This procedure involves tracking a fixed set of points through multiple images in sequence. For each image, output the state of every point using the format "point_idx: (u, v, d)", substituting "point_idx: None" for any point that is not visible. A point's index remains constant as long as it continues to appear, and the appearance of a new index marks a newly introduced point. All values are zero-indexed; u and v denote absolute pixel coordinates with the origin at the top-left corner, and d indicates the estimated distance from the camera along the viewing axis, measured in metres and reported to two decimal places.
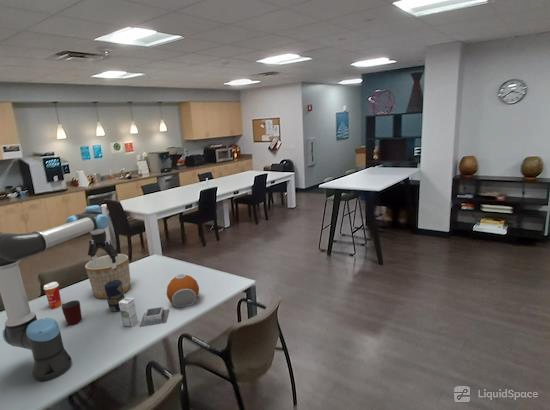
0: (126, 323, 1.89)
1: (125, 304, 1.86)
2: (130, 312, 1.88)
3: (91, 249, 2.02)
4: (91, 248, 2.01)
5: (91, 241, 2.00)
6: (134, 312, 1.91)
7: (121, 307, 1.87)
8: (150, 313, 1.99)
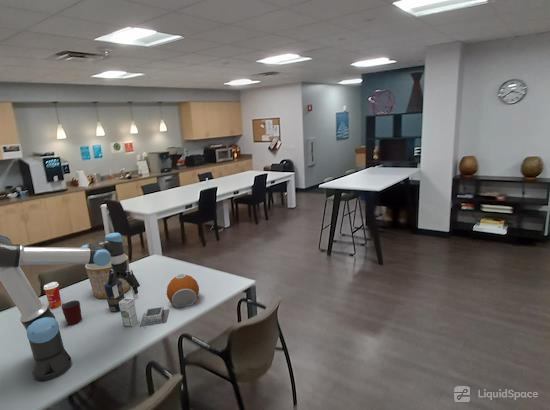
0: (126, 323, 1.89)
1: (125, 304, 1.86)
2: (130, 312, 1.88)
3: (111, 279, 1.89)
4: (111, 278, 1.88)
5: (111, 270, 1.86)
6: (134, 312, 1.91)
7: (121, 307, 1.87)
8: (150, 313, 1.99)
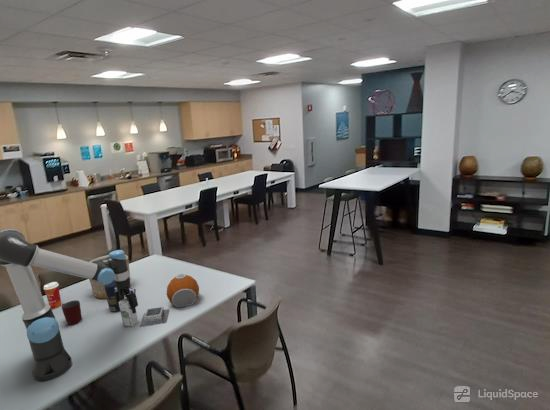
0: (126, 323, 1.89)
1: (125, 304, 1.86)
2: (130, 312, 1.88)
3: (118, 298, 1.90)
4: (117, 296, 1.90)
5: (115, 289, 1.89)
6: None
7: (121, 307, 1.87)
8: (150, 313, 1.99)
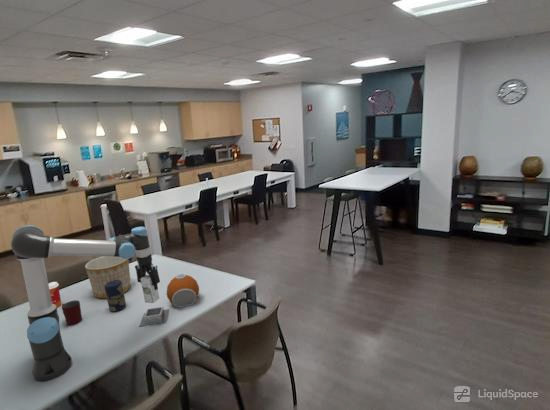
0: (148, 299, 1.91)
1: (148, 280, 1.87)
2: None
3: (139, 275, 1.91)
4: (139, 273, 1.91)
5: (136, 266, 1.90)
6: None
7: (143, 283, 1.89)
8: (150, 313, 1.99)
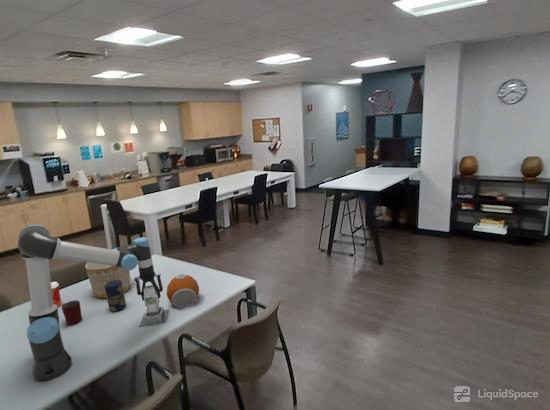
0: (152, 309, 1.92)
1: (153, 289, 1.89)
2: None
3: (139, 287, 1.90)
4: (139, 286, 1.90)
5: (136, 278, 1.89)
6: None
7: (147, 294, 1.89)
8: (150, 313, 1.99)
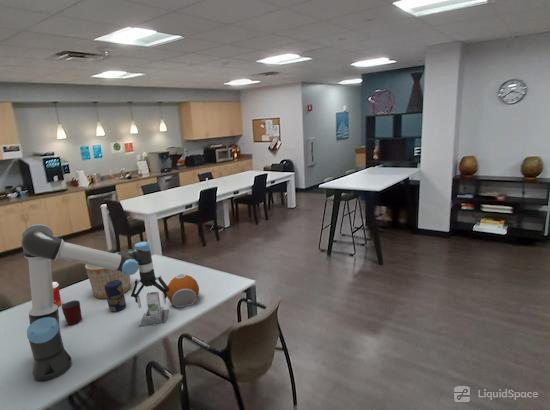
0: None
1: (155, 296, 1.90)
2: (158, 304, 1.93)
3: (135, 289, 1.90)
4: (135, 288, 1.90)
5: (137, 281, 1.89)
6: (159, 304, 1.96)
7: (149, 301, 1.90)
8: None
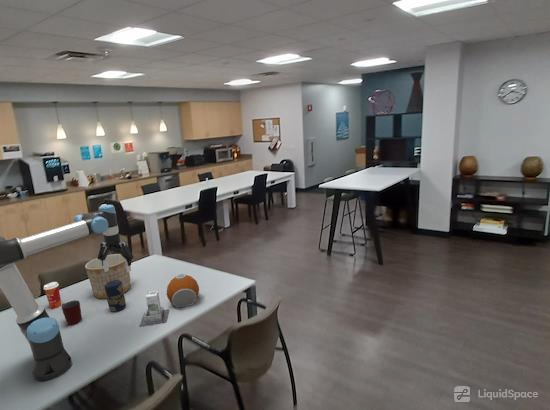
0: None
1: (155, 296, 1.90)
2: (158, 304, 1.93)
3: (102, 252, 1.88)
4: (102, 251, 1.87)
5: (102, 244, 1.86)
6: (159, 304, 1.96)
7: (149, 301, 1.90)
8: None
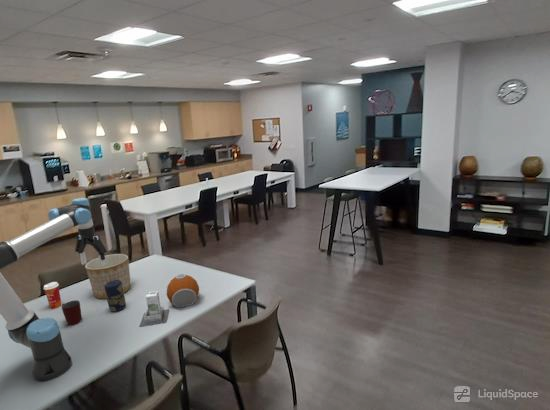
0: None
1: (155, 296, 1.90)
2: (158, 304, 1.93)
3: (79, 245, 1.88)
4: (79, 244, 1.88)
5: (78, 236, 1.86)
6: (159, 304, 1.96)
7: (149, 301, 1.90)
8: None
